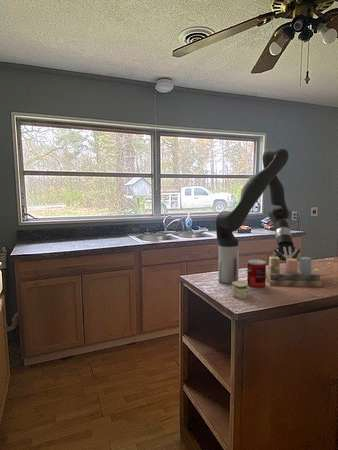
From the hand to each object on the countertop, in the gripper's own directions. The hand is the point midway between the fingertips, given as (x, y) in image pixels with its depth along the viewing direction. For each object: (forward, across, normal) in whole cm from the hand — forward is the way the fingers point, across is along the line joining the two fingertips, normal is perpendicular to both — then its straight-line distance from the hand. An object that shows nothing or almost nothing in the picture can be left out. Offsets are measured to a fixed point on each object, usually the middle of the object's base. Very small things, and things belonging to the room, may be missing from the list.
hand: (289, 267), depth 133 cm
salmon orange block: (+4, 0, +1) cm, 4 cm away
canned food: (+11, -17, -3) cm, 21 cm away
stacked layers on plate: (+22, -26, -13) cm, 36 cm away
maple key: (+2, -7, +3) cm, 8 cm away
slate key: (+2, +7, +3) cm, 8 cm away
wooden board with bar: (+6, 0, +3) cm, 6 cm away
